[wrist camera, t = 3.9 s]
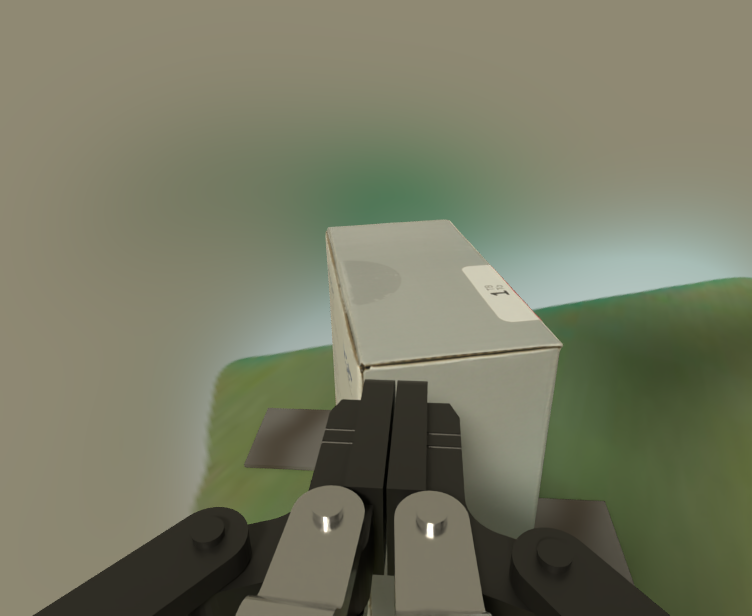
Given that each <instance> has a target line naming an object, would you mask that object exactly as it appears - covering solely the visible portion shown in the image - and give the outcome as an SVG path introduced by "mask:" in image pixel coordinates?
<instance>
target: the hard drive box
mask: <svg viewBox="0 0 752 616" xmlns="http://www.w3.org/2000/svg"><path fill="white" fill-rule="evenodd" d="M326 249H327V263H328V277H329V292H330V307H331V324H332V340H333V358H334V375H335V392H336V405H337V404H338V403H339V402H340V401H341V400H342V399H349V400H361V396H362V390H363V385H364V381H365V379H376V380H395V384H396V390H397V381H398V380H405V381H428V395H427V403H450V405H451V406H452V407H453V409H454V410H455V412H456V413H457V415H458V416H459V418H460V431H461V446H462V448H461V450H462V461H463V477H464V492H465V502H466V505H467V508H468V510H469V511H470V513H471V515H472V516H473V517H474V518H475V519H476V520H477V521H478V522H479V523H480V524H482V525H483V526H485V527H486V528H488V529H490V530H492V531H494V532H497V533H499V534H502V535H505V536H508V537H511V538H514V539H517V538H518V537H519V536H520V535H521V534H522V533H524V532H526V531H528V530H530V529H534V526H535V519H536V512H537V505H538V497H539V490H540V483H541V476H542V469H543V462H544V455H545V448H546V441H547V434H548V426H549V419H550V413H551V406H552V399H553V393H554V386H555V379H556V373H557V366H558V359H559V352H560V350H561V348H562V346H563V344H562V343H561V342H560V341H559V340H558V338H557V337H556V336H555V335H554V334H553V333H552V332H551V331H550V330H549V329H548V328H547V327H546V326H545V324H544V323H543V322H542V321H541V319H540V318H539V317H538V316H537V315H536V314H535V313H534V312H533V311H532V310H531V308H530V307H529V306H528V305H527V304H526V303H525V302H524V301H523V300H522V299H521V297H520V296H519V295H518V294H517V293H516V292H515V291H514V290H513V289H512V288H511V287H510V285H509V284H508V283H507V282H506V281H505V280H504V279H503V278H502V277H501V276H500V275H499V274H498V273H497V272H496V270H495V269H494V268H493V267H492V266H491V265H490V264H489V263H488V262H487V261H486V260H485V259H484V258H483V257H482V256H481V254H480V253H479V252H478V251H477V250H476V249H475V248H474V247H473V246H472V245H471V243H470V242H469V241H468V240H467V239H466V238H465V237H464V236H463V235H462V234H461V233H460V232H459V230H458V229H457V228H456V227H455V226H454V225H453V224H452V223H451V222H450V221H449V220H433V221H417V222H416V221H415V222H401V223H384V224H371V225H356V226H342V227H329V228H328V230H327V231H326ZM394 599H395V589H394V576H389V575H387V548H386V559H385V570H384V575H373V576H372V585H371V594H370V599H369V601H368V614H367V616H395V615H394Z"/></svg>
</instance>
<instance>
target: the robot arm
mask: <svg viewBox="0 0 752 616" xmlns="http://www.w3.org/2000/svg"><path fill="white" fill-rule="evenodd" d="M427 395H428V381H405V380H398V381H397V390H396V384H395V380H376V379H365V381H364V385H363V390H362V396H361V400H349V399H342V400H341V401H340V402H339V403H338V404H337V405H336V406H335V407H334V408H333V409H332V410H331V411H330V413H329V417H328V421H327V424H326V430H325V432H324V435H323V439H322V444H321V447H320V450H319V454H318V458H317V462H316V465H315V469H314V473H313V477H312V480H311V484H310V488H309V491H308V492H306V493H305V494H303V495H302V496H301V497H300V498H299V499H298V500H297V501H296V502H295V504H294V506H293V508H292V510H291V512H290V513H288V514H286V515H284V516H281V517H279V518H276V519H272V520H268V521H263V522H258V523H253V524H249V525H247V522H246V520H245V518H244V517H243V516H242V515H241V514H240V513H239V512H237V511H235V510H233V509H230V508H224V507H213V508H207V509H204V510H201V511H198V512H196V513H194V514H192V515H190V516H188V517H187V518H185V519H184V520H182V521H180V522H179V523H177V524H176V525H174V526H173V527H171V528H170V529H168V530H166V531H165V532H163V533H162V534H160V535H159V536H157V537H155V538H154V539H152V540H151V541H149V542H148V543H146V544H145V545H143V546H141V547H140V548H138V549H137V550H135V551H133V552H132V553H131V554H129V555H127V556H126V557H124V558H122V559H121V560H119V561H118V562H116V563H115V564H113V565H112V566H110V567H108V568H107V569H105V570H104V571H102V572H100V573H99V574H98V575H96V576H94V577H93V578H91V579H89V580H88V581H87V582H85V583H83V584H82V585H80V586H79V587H77V588H75V589H74V590H72V591H71V592H69V593H68V594H66V595H64V596H63V597H61V598H60V599H58V600H57V601H55V602H54V603H52V604H50V605H49V606H47V607H46V608H44V609H42V610H41V611H39V612H38V613H36V614H35V615H33V616H367V614H368V601H369V599H370V594H371V585H372V576H373V575H384V570H385V559H386V548H387V575H389V576H394V589H395V599H394V615H395V616H670V615H669V614H668V613H666V612H665V611H664V610H663V609H662V608H660V607H659V606H658V605H657V604H656V603H654V602H653V601H652V600H651V599H650V598H648V597H647V596H646V595H645V594H644V593H642V592H641V591H640V590H639V589H638V588H636V587H635V586H634V585H633V584H632V583H630V582H629V581H628V580H627V579H626V578H624V577H623V576H622V575H621V574H620V573H618V572H617V571H616V570H615V569H614V568H612V567H611V566H610V565H609V564H608V563H606V562H605V561H604V560H603V559H602V558H600V557H599V556H598V555H597V554H596V553H594V552H593V551H592V550H591V549H590V548H588V547H587V546H586V545H585V544H584V543H582V542H581V541H580V540H578V539H577V538H576V537H574V536H572V535H571V534H569V533H566V532H564V531H561V530H558V529H554V528H542V527H541V528H534V529H530V530H528V531H526V532H524V533H522V534H521V535H520V536H519V537H518V538H517V539H514V538H511V537H508V536H505V535H502V534H499V533H497V532H494V531H492V530H490V529H488V528H486V527H485V526H483V525H482V524H480V523H479V522H478V521H477V520H476V519H475V518H474V517H473V516H472V515H471V513H470V511H469V510H468V508H467V505H466V502H465V492H464V477H463V461H462V450H461V448H462V446H461V431H460V418H459V416H458V415H457V413H456V412H455V410H454V409H453V407H452V406H451V405H450V403H427Z"/></svg>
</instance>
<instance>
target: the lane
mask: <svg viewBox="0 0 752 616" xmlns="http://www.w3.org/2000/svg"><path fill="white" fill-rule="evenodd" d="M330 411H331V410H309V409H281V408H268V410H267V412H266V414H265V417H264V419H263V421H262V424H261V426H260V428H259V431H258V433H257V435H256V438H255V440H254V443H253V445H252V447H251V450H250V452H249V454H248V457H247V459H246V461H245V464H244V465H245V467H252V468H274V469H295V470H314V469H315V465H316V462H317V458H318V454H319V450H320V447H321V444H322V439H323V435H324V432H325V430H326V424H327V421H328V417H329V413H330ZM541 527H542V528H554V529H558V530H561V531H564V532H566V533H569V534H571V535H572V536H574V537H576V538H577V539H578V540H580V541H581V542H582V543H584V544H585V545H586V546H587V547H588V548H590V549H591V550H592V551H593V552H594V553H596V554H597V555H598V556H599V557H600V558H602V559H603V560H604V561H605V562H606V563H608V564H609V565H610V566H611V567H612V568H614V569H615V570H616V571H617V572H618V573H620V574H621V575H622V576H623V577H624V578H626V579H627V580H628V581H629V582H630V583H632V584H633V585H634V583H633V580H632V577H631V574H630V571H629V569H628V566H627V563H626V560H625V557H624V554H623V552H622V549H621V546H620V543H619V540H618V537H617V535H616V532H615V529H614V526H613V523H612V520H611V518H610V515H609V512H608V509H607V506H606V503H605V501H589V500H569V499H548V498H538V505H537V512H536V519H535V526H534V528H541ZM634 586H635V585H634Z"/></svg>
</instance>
